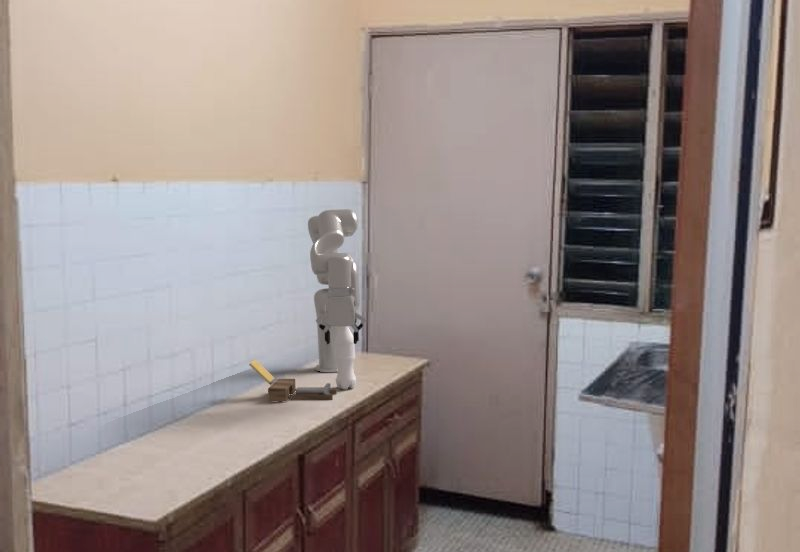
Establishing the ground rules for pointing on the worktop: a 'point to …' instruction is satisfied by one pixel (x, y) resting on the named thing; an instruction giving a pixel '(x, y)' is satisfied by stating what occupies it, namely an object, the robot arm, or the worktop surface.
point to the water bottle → (345, 358)
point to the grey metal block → (314, 390)
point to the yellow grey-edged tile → (263, 372)
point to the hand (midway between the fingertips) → (342, 343)
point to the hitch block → (291, 392)
